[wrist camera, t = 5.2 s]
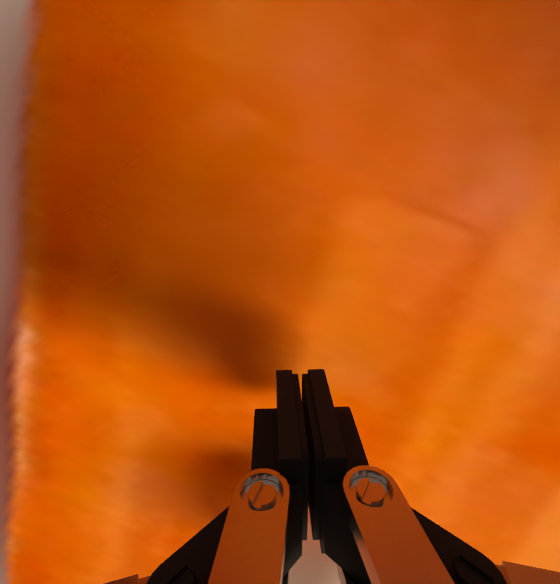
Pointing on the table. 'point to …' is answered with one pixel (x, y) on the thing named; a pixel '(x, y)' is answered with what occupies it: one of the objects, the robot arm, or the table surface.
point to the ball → (313, 564)
